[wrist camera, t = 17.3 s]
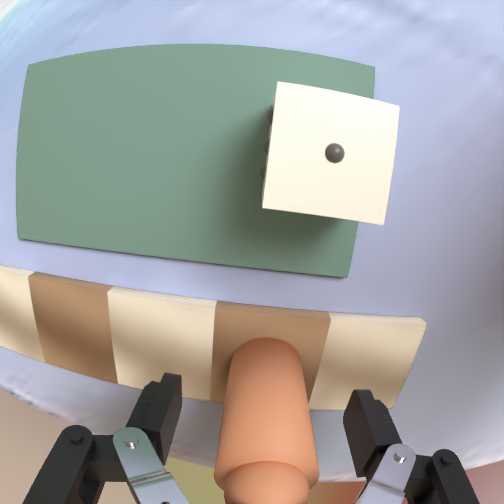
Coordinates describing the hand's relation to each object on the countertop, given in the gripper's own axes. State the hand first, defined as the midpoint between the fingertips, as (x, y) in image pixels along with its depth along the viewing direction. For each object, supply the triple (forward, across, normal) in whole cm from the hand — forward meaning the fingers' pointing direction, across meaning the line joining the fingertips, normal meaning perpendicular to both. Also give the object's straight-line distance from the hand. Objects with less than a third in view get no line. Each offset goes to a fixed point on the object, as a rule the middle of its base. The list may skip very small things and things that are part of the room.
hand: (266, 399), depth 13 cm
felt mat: (+3, +6, -10) cm, 12 cm away
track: (+3, +6, 0) cm, 6 cm away
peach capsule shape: (+3, 0, 0) cm, 3 cm away
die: (+3, -1, -10) cm, 11 cm away
